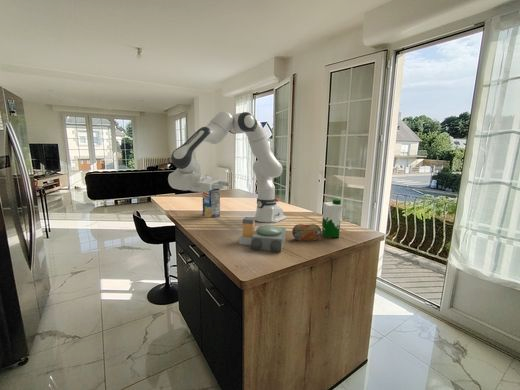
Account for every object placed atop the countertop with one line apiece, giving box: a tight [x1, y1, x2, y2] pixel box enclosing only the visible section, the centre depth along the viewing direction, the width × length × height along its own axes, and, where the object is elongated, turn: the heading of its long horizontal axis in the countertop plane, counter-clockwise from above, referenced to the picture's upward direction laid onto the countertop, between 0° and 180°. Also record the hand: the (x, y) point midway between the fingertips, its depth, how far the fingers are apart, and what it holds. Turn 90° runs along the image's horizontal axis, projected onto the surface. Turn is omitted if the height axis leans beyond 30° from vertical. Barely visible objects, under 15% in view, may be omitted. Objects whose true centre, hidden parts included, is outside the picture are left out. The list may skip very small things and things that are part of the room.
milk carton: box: [321, 198, 343, 238], centre depth 141 cm, size 9×9×20 cm
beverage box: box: [202, 189, 221, 219], centre depth 175 cm, size 7×11×22 cm, turn 41°
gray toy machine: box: [238, 224, 287, 253], centre depth 129 cm, size 21×20×8 cm
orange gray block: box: [242, 216, 256, 238], centre depth 130 cm, size 5×5×12 cm
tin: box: [291, 223, 322, 242], centre depth 135 cm, size 15×3×8 cm, turn 95°
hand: (226, 185), depth 129 cm, fingers open, 8 cm apart
